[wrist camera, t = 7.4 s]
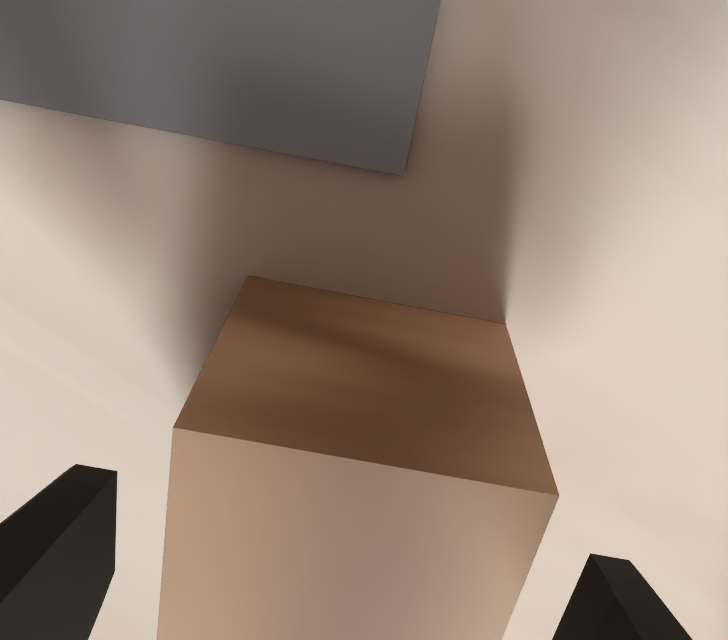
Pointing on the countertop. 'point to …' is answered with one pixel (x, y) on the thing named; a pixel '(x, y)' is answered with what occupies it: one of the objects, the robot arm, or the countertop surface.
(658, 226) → the countertop surface
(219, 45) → the letter card
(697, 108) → the countertop surface
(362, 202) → the countertop surface
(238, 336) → the walnut cube
